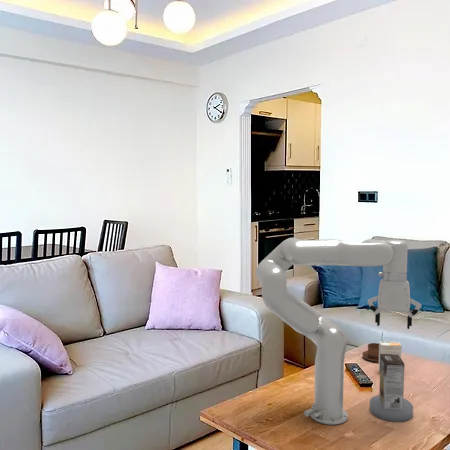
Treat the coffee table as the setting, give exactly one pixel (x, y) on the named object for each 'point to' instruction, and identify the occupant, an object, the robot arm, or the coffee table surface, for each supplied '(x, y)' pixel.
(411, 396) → the coffee table surface
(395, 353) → the supplement box
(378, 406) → the podium
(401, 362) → the coffee box
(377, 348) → the cup and saucer
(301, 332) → the robot arm
